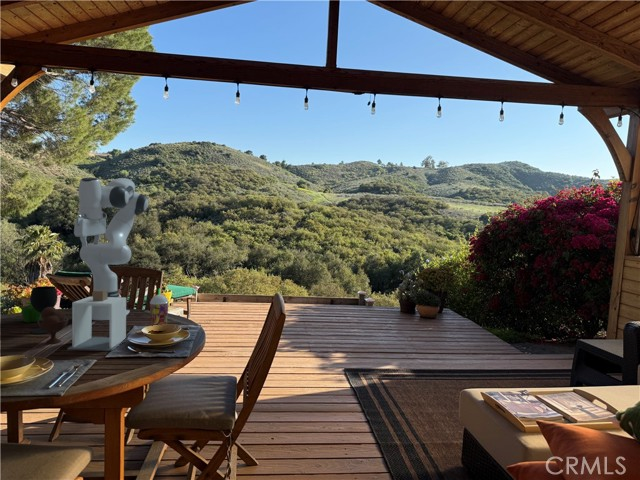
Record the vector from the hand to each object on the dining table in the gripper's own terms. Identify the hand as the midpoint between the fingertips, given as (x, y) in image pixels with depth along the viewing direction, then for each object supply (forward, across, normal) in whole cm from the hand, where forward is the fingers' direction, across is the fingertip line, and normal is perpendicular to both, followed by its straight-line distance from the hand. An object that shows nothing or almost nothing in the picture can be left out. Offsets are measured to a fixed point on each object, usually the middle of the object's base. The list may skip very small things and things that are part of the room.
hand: (90, 245), depth 188 cm
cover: (+39, -15, -11) cm, 43 cm away
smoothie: (+40, +8, -27) cm, 49 cm away
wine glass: (+40, +2, +23) cm, 46 cm away
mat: (+40, -15, -11) cm, 44 cm away
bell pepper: (+41, +18, +39) cm, 59 cm away
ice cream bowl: (+40, -14, +9) cm, 43 cm away
